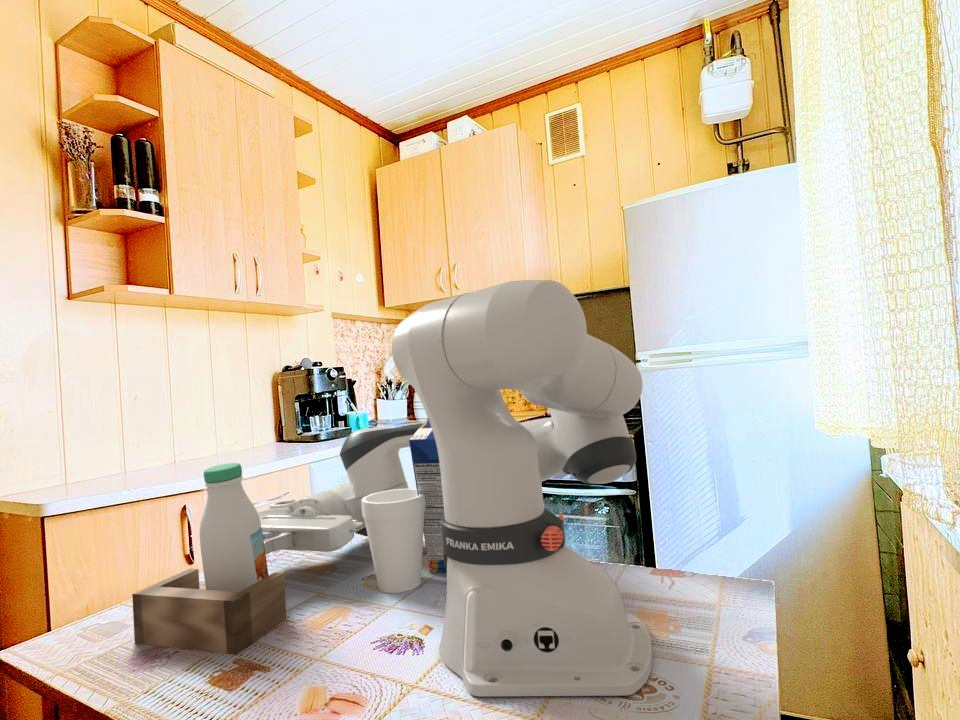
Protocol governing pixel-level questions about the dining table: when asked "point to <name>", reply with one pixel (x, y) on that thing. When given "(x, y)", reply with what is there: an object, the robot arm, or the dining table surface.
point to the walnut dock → (207, 613)
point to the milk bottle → (230, 533)
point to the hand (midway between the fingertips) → (255, 549)
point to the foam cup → (395, 537)
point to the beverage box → (429, 492)
